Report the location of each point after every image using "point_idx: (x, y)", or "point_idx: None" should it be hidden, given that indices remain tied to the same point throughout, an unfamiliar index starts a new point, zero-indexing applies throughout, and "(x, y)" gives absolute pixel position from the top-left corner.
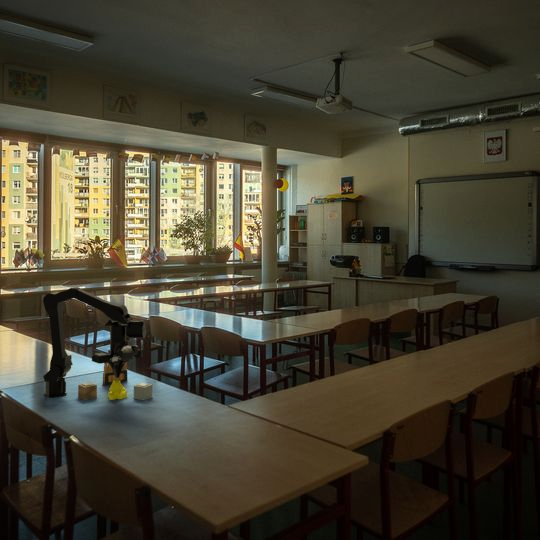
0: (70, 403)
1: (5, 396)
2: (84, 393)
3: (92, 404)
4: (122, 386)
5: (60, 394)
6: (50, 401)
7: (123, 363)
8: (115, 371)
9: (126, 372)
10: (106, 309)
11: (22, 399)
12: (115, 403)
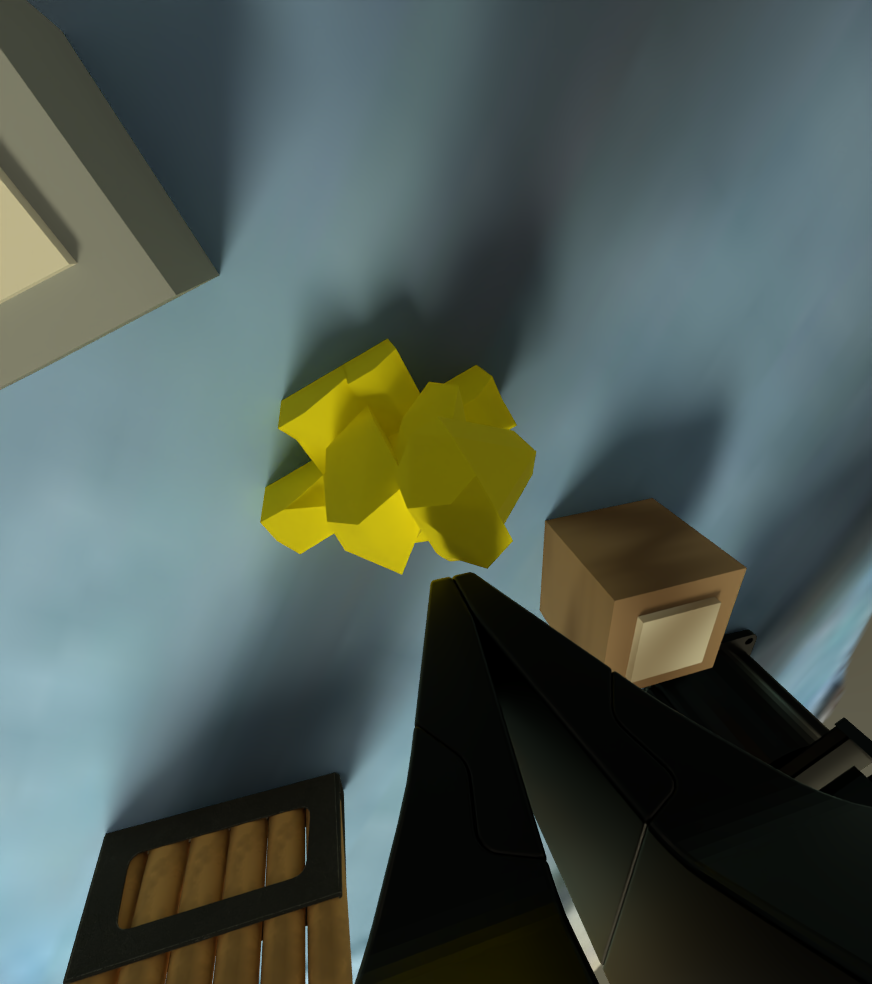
0: (766, 468)
1: (826, 715)
2: (694, 533)
3: (694, 338)
4: (333, 498)
5: None
6: (794, 569)
7: (466, 982)
8: (579, 666)
9: (84, 944)
10: None
11: (830, 654)
12: (520, 206)
